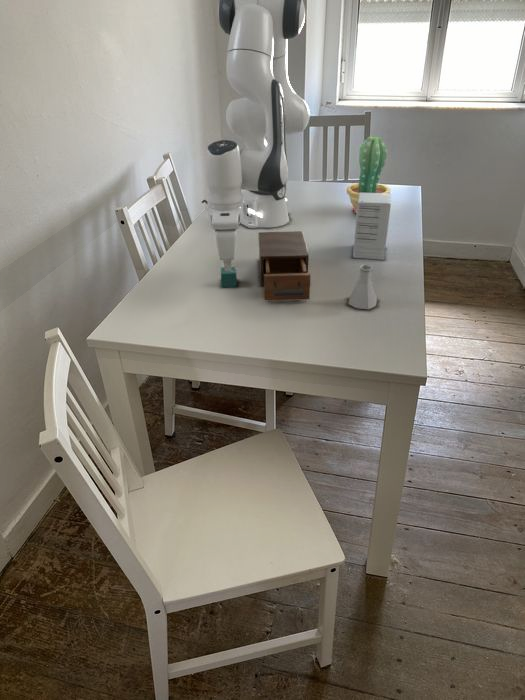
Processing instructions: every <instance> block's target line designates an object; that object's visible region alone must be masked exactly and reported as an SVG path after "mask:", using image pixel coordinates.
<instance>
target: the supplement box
mask: <svg viewBox="0 0 525 700" xmlns="http://www.w3.org/2000/svg"><path fill="white" fill-rule="evenodd" d="M391 197H392V195H391V193H390V194H385V193H359V200H358V204H357V213H356V215H355V216H356V217H355V229H354V239H353V240H354V241H353V251H352V258H355V259H367V260H382V261H383V260H384V259H385V255H386V254H385V253H386V246H387V237H388V232H389V223H390V222H389V221H390V214H391V206H392V203H391V199H392V198H391Z"/></svg>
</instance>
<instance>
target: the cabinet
mask: <svg viewBox="0 0 525 700" xmlns="http://www.w3.org/2000/svg"><path fill="white" fill-rule="evenodd" d="M304 235H305V234H304V232H303V231H302V230H300V231H297V230H295V231H261V232H259V231H258V265H259V277H260V279H259V280H260V287H264V274H265V259H289V258H303V259H304V263H305V267H306V273H309V257H310V255H309V251H308V247H307V243H306V240H305V236H304Z"/></svg>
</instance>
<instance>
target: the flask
mask: <svg viewBox="0 0 525 700" xmlns="http://www.w3.org/2000/svg"><path fill="white" fill-rule="evenodd" d="M373 269H374V266H373V265H372V264H371V265H370V264H367V263H366V264H365V263H362V264H361V265H359V277H358V280H357V282H356V284H355V287H354V288H353V290H352V292H351V294H350V296H349V299H348V303H347V304H348V305H349V306H352V307H353V308H356V309H362V310H370V309H372V308H374V307H376V306H377V301H378V299H377V296H376V292H375V289H374V285H373V282H372V281H373V280H372V271H373Z"/></svg>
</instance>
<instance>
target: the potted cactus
mask: <svg viewBox="0 0 525 700" xmlns="http://www.w3.org/2000/svg"><path fill="white" fill-rule="evenodd" d="M358 149H359V151H358V154H359V155H358V163H359V170H360V171H359V179H358V182H354V183H351V184H349V185H347V186H346V194H347V195H348V198H349V200H350V204H351V205H352V207H353V212H354V213H356V214H357V204H358V200H359V193H385V194H391V187H389V186H388V185H385V184H383V183H379V181H380V178H381V177H380V176H381V173H382V170H383V168H385V167H384V166H385V165H386V163H387V162H386V161H387V155H388V149H387V146H386V145H385V142H384V140H383V138H382V137H380V136H377V137H376V136H374V135H371V136H368V137H366V139H365V140H363V141H362V143H361V144H360V145H359V147H358Z"/></svg>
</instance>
